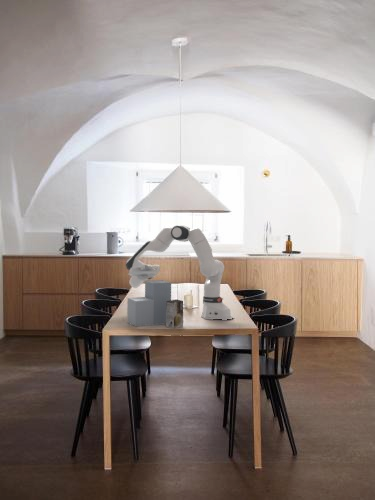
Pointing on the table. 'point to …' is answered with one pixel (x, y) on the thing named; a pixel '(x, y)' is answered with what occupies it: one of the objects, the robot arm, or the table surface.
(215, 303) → the robot arm
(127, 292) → the table surface
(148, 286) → the stepped stand
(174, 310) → the coffee box
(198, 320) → the table surface
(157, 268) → the long bar
